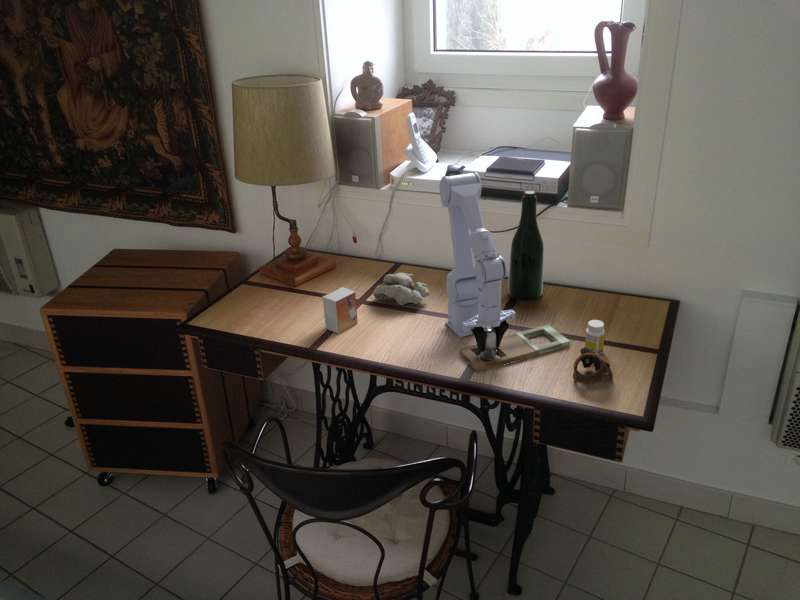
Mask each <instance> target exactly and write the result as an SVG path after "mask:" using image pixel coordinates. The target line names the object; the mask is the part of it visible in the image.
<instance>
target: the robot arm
mask: <svg viewBox="0 0 800 600" xmlns="http://www.w3.org/2000/svg"><path fill="white" fill-rule="evenodd" d="M482 183H483V182H482V179H481V177H480V175H479V173H478V172H477V171H473V172H471V173H463V174H455V175H448V176H447V175H443V176H442V177H441V179H440V182H439V187H438V188H439V193H440V195H439V196H440V201H441V206H442V207H443V208H446V209H447V211H448V216H449V225H450V235H451V243H452V250H453V258H454V268H453V269H452V270H451V271H450V272H449V273H448V274H447V275H446V287H445V288H446V295H447V297H448V301H447V320H446V321H445V322H444V323H445V325H447V327H449V328H450V329H451V330H452V331H453V332H454V333H455V334H456V335H457V336H458V337H459V338H465V337H467V336H471V335H473V336H474V339H475V342H476V344H477V347H478V349H479V350H480V353H481V352H484V348H485V337H486V334H487V333H486V332H485V331H484V328H483V327H484V326H493V327H495V328H496V329H497V341H496V347H497V348H498V347H499V346H500V343H501V340H502V338H503V337H504V336H505V333H506V332H507V331H508V330H509V328H510V323H509V322H508V321H507V320H515V319H516V315H517V314H516V312H515V311H514V310H513V309H512V308H511V309H508V310H507V309H505V310H502V309H501V308H502V307H501V306H502V280H505V279H506V276H507V266H506V263H505V258H503V256H501V253H500V252H499V251H498V252H497V248H496V245H495V242H494V239H493V236H492V235H493V234H492V233H491V231H489V230H488V229H486V228H485V224H484V219H483V214H482V210H481V205H480V198H481V196H482V189H483V187H482V186H483V185H482ZM473 259H474V262H475V264H474V263H473Z"/></svg>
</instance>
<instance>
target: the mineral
mask: <svg viewBox="0 0 800 600" xmlns="http://www.w3.org/2000/svg"><path fill="white" fill-rule="evenodd" d="M413 277H414V274H413V273H412V274H411V273H405V272H397V273H389V274H386V275H384V278H383V281H382V282H383V283H381V284H378V285H377V286H376V287H375V289H374V290H373V292H372V293H373V296H374V299H375V300H378V299H380V298H381V299H382V300H387V299H388V298H389V297H391V298H393V299H395V301H396V302H397V304H398V305H400V306H405V305H406V304H410V303H411V304H415V305H418V303H419V304H420V303H421V302H423V298H426V297H429V296H430V295H431V294H430V293H431V292H430V290H429V289H428V288H429V286H428V284H426V283H423V282H421V281H420V282H419V281H417V282H415V283H414V282H413V279H412V278H413Z"/></svg>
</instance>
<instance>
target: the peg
mask: <svg viewBox="0 0 800 600" xmlns="http://www.w3.org/2000/svg"><path fill="white" fill-rule="evenodd" d="M483 328H484V331H485V332H486V333H487V334H486V337H485V348H484V352H481V351H480V357H481V358H482V359H483V360H485V361H490V360H494V359H497V351H496V341H497V329H496V328H495V327H493V326H483Z"/></svg>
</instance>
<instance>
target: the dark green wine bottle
mask: <svg viewBox="0 0 800 600" xmlns="http://www.w3.org/2000/svg"><path fill="white" fill-rule="evenodd" d="M537 204H538V197H537V194H536V191H535V190H524V191H523V195H522V196H521V208H520V209H521V211H520V218H519V223H518V225H517V228H516V231H515V233H514V234H513V237H512V240H511V243H510V249H509V250H510V251H509V259H508V260H509V262H508V282H507V292H508V293H507V294H508V295H509V296H510V297H511V298H513V299H515V300H519V301H524V302H525V301H534V300H537V299H539V298H540V297H541V296H542V295H543V289H544V288H543V287H544V267H545V266H544V265H545V264H544V263H545V247H544V246H545V245H544V240H543V237H542V234H541V232H540V228H539V225H538V219H537V218H538V217H537V206H538V205H537Z"/></svg>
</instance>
